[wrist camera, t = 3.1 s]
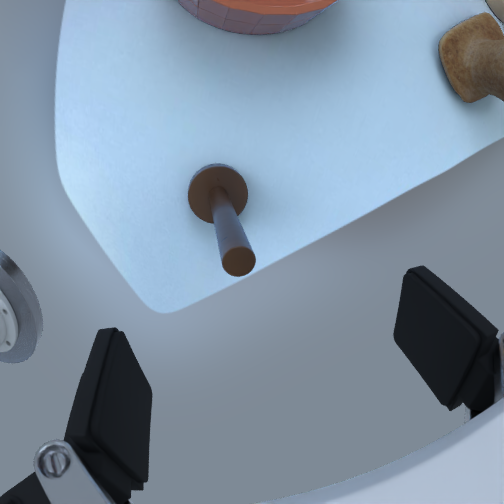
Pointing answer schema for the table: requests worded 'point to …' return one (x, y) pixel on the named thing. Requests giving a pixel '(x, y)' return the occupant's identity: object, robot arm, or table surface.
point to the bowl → (256, 14)
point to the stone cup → (474, 58)
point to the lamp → (497, 8)
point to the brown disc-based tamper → (223, 213)
